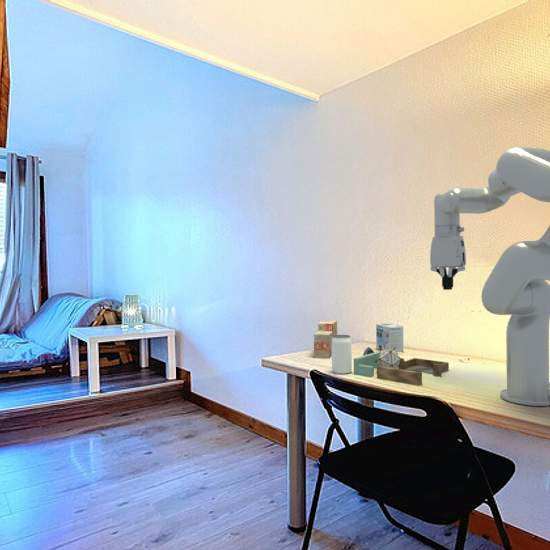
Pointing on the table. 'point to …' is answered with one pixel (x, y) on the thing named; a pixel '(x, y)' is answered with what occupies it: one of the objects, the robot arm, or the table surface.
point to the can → (341, 354)
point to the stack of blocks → (324, 339)
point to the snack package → (368, 351)
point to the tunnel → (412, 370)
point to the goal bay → (366, 364)
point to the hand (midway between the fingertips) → (447, 289)
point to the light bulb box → (389, 337)
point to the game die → (388, 358)
